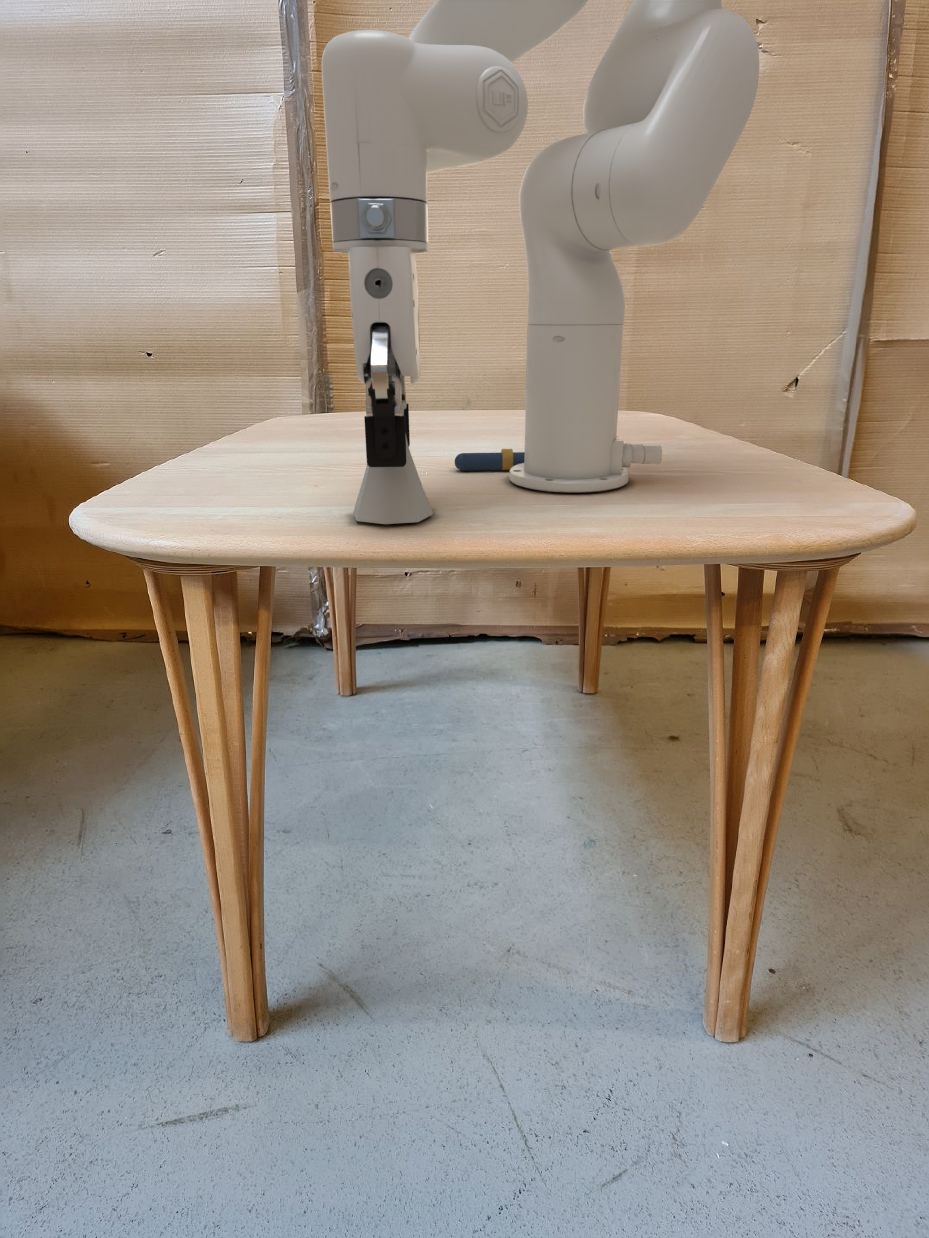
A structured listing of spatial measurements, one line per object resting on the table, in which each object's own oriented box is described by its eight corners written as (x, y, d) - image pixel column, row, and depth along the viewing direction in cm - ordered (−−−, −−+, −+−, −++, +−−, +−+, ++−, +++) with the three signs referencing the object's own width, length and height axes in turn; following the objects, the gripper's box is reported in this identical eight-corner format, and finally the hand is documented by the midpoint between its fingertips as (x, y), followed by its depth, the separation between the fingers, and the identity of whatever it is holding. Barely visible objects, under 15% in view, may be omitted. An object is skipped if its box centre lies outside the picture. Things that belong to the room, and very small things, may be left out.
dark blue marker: (557, 467, 88) (558, 446, 88) (560, 471, 86) (561, 450, 85) (454, 468, 88) (454, 448, 87) (454, 473, 86) (454, 451, 85)
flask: (438, 507, 71) (436, 396, 67) (427, 528, 64) (423, 406, 61) (362, 506, 72) (355, 396, 68) (343, 526, 65) (335, 406, 61)
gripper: (427, 218, 51) (432, 477, 58) (429, 240, 68) (433, 440, 74) (315, 219, 51) (334, 478, 58) (344, 240, 67) (356, 441, 74)
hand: (389, 455), depth 66 cm, fingers open, 7 cm apart
